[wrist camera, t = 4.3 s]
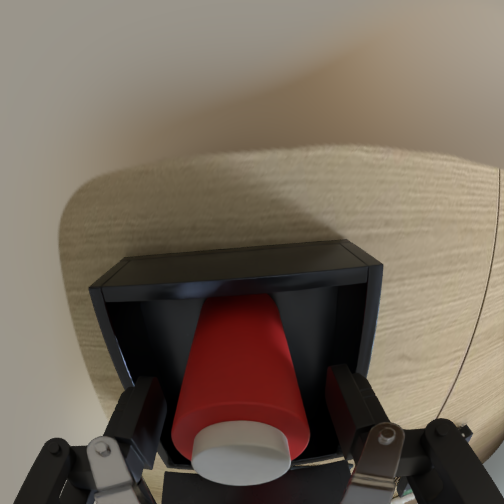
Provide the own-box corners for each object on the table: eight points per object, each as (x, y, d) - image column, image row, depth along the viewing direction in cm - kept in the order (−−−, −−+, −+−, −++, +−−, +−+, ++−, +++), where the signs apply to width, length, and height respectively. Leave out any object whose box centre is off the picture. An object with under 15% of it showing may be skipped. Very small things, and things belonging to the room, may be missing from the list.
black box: (123, 257, 16) (87, 287, 11) (347, 238, 16) (383, 264, 11) (175, 425, 20) (166, 468, 16) (330, 415, 20) (344, 456, 16)
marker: (445, 472, 31) (449, 479, 28) (442, 475, 31) (446, 483, 29) (366, 507, 31) (369, 516, 29) (365, 510, 32) (367, 518, 29)
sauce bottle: (193, 342, 17) (162, 481, 7) (209, 274, 16) (172, 413, 6) (266, 358, 17) (284, 495, 8) (290, 294, 16) (342, 433, 6)
